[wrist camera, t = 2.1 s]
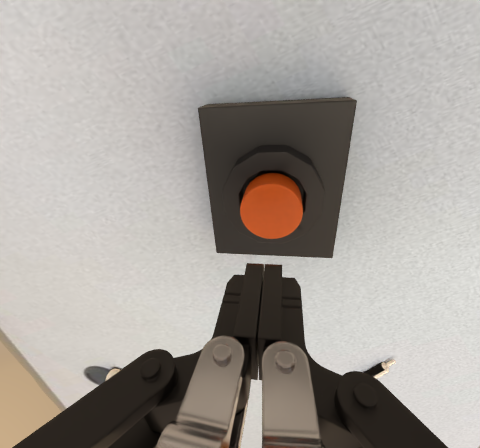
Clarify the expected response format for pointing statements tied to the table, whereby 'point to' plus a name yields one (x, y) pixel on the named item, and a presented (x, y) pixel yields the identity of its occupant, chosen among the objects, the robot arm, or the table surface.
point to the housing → (277, 168)
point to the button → (271, 206)
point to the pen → (380, 369)
